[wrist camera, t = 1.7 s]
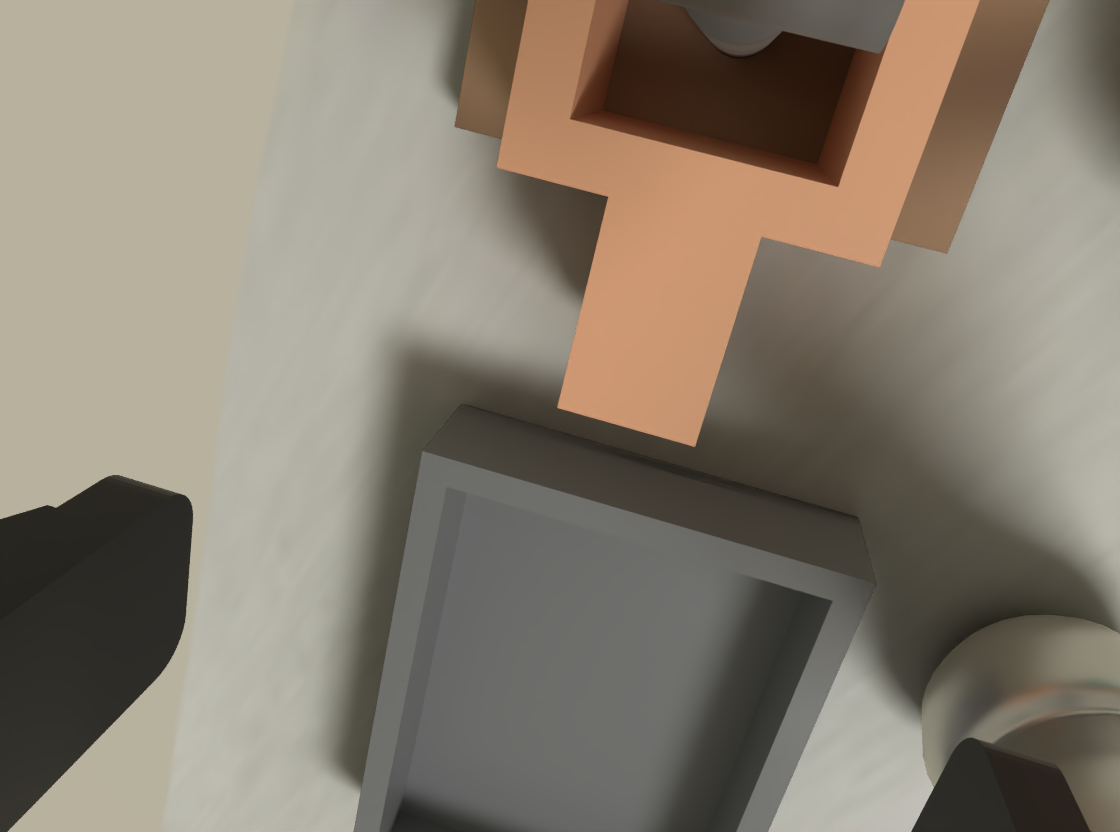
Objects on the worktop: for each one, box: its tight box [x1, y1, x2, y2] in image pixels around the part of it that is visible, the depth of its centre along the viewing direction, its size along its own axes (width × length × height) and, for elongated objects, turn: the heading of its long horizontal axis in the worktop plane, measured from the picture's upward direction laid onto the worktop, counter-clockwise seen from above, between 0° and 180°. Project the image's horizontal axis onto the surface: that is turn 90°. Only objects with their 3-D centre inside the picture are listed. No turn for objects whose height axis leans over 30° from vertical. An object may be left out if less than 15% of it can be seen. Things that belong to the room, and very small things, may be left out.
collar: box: [497, 0, 980, 447], centre depth 18 cm, size 12×8×4 cm, turn 167°
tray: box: [354, 404, 876, 832], centre depth 27 cm, size 16×12×4 cm
